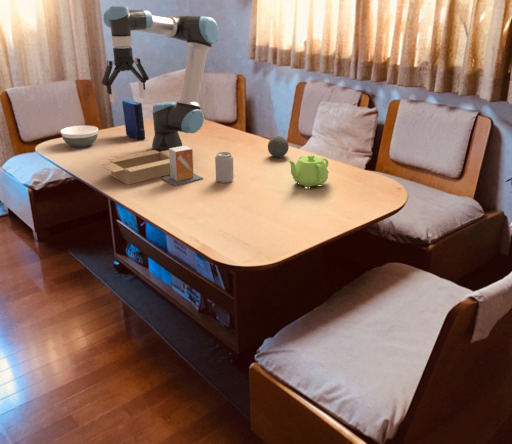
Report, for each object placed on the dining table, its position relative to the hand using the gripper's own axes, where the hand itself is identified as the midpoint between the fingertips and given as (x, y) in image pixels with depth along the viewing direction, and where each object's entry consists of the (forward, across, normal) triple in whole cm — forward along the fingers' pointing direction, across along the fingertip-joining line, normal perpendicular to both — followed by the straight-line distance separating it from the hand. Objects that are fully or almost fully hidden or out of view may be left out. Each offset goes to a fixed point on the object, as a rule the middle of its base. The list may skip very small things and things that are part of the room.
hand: (127, 99), depth 224 cm
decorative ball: (+32, -64, +24) cm, 75 cm away
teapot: (+32, -48, +61) cm, 84 cm away
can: (+32, -24, +35) cm, 53 cm away
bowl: (+32, +1, -55) cm, 64 cm away
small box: (+31, -11, +22) cm, 40 cm away
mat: (+32, -11, +22) cm, 40 cm away
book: (+32, -27, -50) cm, 65 cm away
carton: (+32, -2, +6) cm, 32 cm away
